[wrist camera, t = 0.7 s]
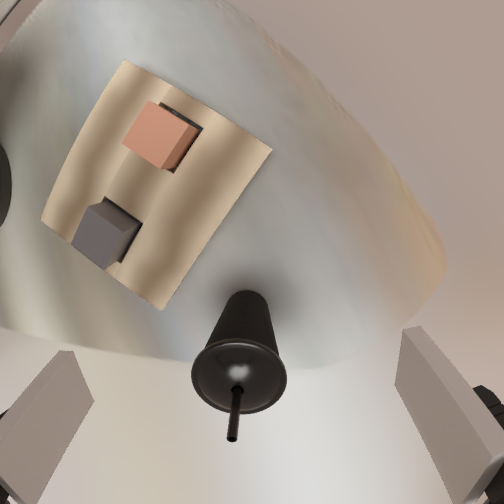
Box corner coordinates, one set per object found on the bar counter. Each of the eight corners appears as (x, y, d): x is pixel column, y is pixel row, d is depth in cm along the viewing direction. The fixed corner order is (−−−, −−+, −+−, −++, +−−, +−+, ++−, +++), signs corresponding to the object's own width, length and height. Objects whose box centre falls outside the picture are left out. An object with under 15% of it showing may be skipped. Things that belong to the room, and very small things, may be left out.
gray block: (93, 233, 33) (70, 244, 28) (110, 199, 32) (87, 206, 27) (124, 255, 33) (104, 270, 29) (142, 222, 32) (123, 232, 27)
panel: (58, 213, 35) (40, 219, 31) (138, 68, 30) (124, 59, 27) (171, 296, 37) (162, 311, 34) (271, 151, 33) (272, 149, 29)
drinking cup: (218, 272, 36) (174, 385, 17) (285, 284, 37) (305, 405, 17) (210, 331, 38) (172, 460, 19) (272, 341, 39) (277, 476, 19)
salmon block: (141, 145, 30) (121, 143, 25) (165, 108, 29) (148, 100, 24) (175, 168, 31) (160, 169, 26) (200, 130, 30) (188, 125, 25)
